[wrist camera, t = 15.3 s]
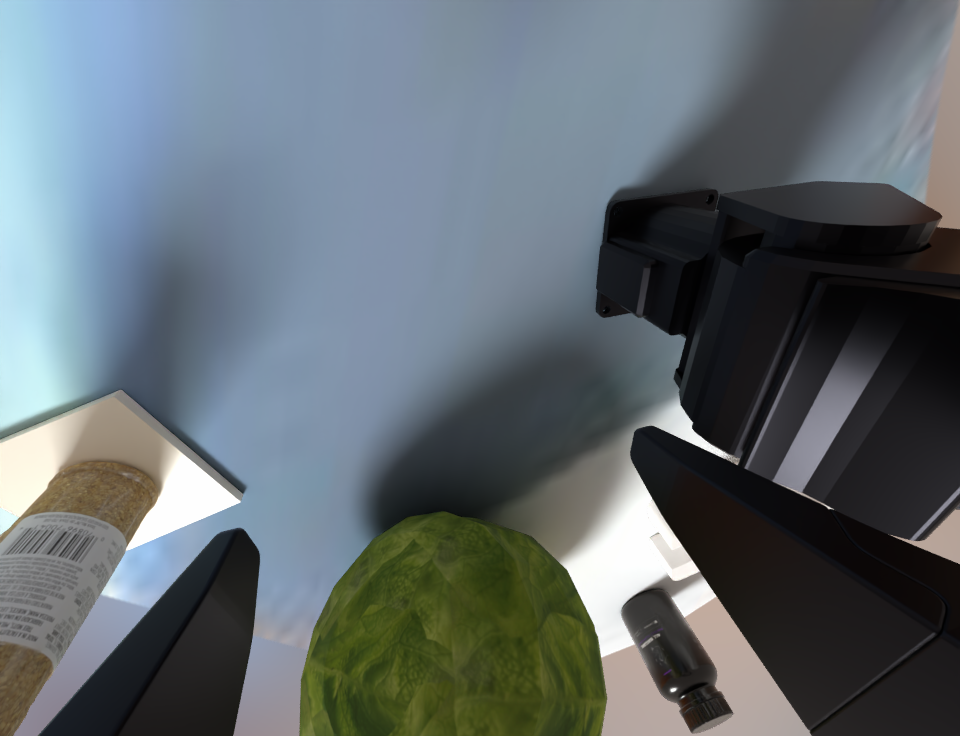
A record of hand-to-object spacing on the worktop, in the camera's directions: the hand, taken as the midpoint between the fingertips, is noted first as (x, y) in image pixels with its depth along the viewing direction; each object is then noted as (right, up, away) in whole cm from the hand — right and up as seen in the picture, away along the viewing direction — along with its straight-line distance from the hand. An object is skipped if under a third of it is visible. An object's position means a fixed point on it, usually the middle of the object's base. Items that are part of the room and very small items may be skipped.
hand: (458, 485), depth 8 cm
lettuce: (-1, -13, +24) cm, 27 cm away
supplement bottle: (+22, -28, +39) cm, 53 cm away
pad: (-20, -4, +12) cm, 24 cm away
